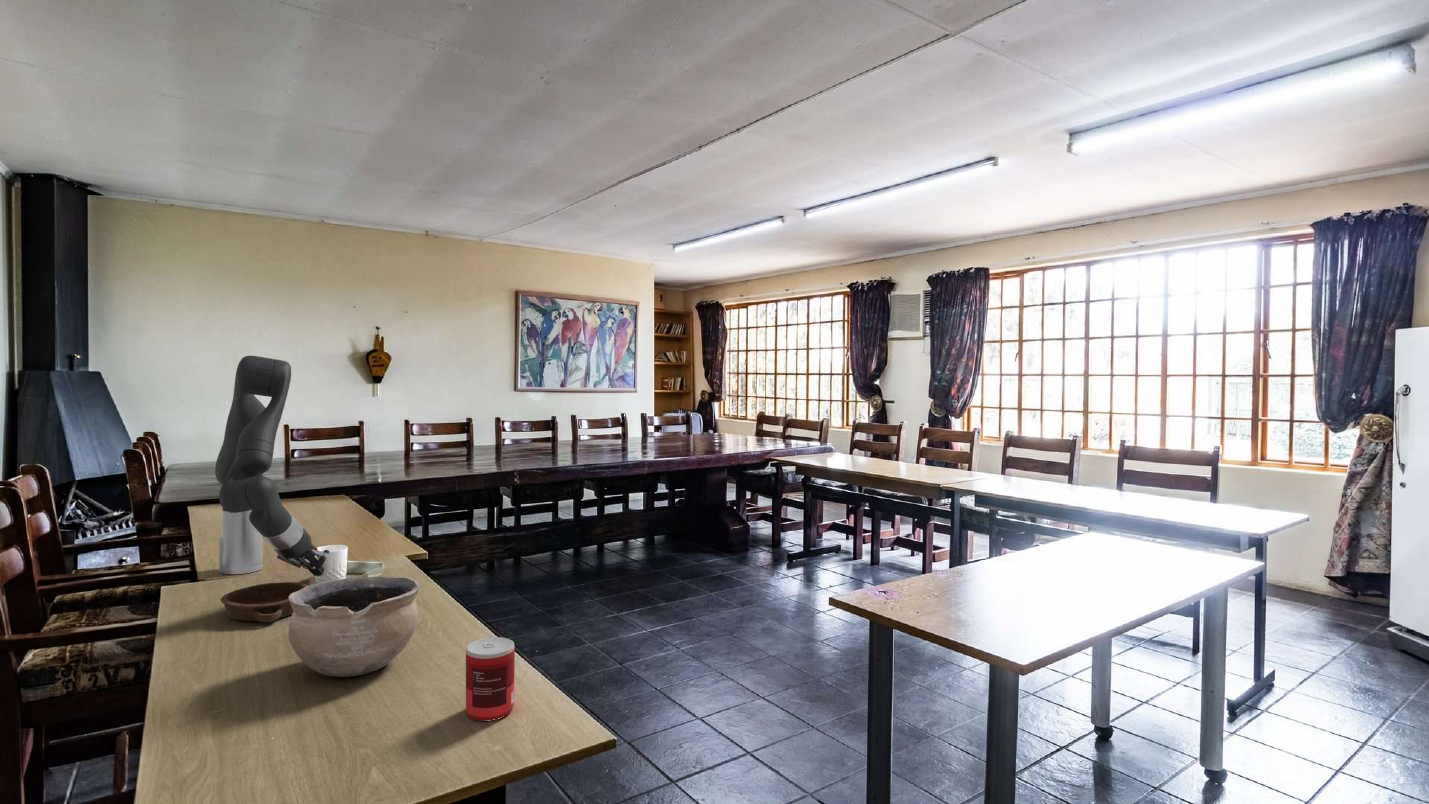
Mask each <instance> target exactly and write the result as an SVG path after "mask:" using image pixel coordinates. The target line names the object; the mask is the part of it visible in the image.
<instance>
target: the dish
mask: <svg viewBox="0 0 1429 804" xmlns="http://www.w3.org/2000/svg"><path fill="white" fill-rule="evenodd" d="M307 586H308V585H305V584H302V583H296V581H295V582H292V581H291V582H290V581H287V582H285V581H284V582H267V583H260V584H256V585H251V586H247V587H241V588H239V589H236V590H233V591H230V592H228V593H226V594H225V595H223V596H222V597H221V598H220V602H221V604H223V606H224V607H225V608H224V609H225V610H226V612H227V615H228V616H229V617H230V618H231V619H233V620H235V621H243V622H260V623H271V622H274V621H276V620H277V621H278V619H281V618H285V617H287V616H292V614H293V608H292V606H291V604H290V601H289V598H288V597H289V595H290V594H291V593H294V592H297V591H299V590H301V589H303V588H305V587H307Z"/></svg>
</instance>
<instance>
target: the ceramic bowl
mask: <svg viewBox="0 0 1429 804" xmlns="http://www.w3.org/2000/svg"><path fill="white" fill-rule="evenodd" d="M419 590H420V584H419V582H418V580H415V579H413V578H409V577H402V576H377V577H365V578H362V577H358V576H355V577H348V578H347V577H346V579H340V580H335V581H330V582H322V583H319V584H314V585H311V586H307V587H305V588H303V589H301V590H299V591H297V592H294V593H291V594H290V595H289V597H288V598H289V601H290V604H291V606H292V608H293V614H291V617H290V620H289V624H288V631H287V632H288V633H287V635H288V641H289V644H290V646H291V648H292V650H293V651H294V652H295V655H296V656H297V657H298V658H299V659H300V660H301V661H302V662H303V663H304V664H305V665H306V666H307V667H309V668H310V669H311V670H313V671H314V672H316V673H319V674H321V675H324V676H328V677H335V678H337V677H338V678H350V677H357V676H363V675H366V674H369V673H372V672H375V671H378V670H380V669H382V668H383V667H385V666H386V665H388V664H389V663H390V662H392V661H393V660H394V659H395V658H397V656H398V655H399V654H400V653H401V652H402V651H403V650H404V649H405V648H406V646H407V645H408V644H409V642H410V640H411V639H412V637H413V636H414V633H415V630H416V628H417V625H418V620H419V612H418V611H419V610H418V605H417V600H416V598H417V596H418V593H419Z"/></svg>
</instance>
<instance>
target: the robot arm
mask: <svg viewBox="0 0 1429 804" xmlns="http://www.w3.org/2000/svg"><path fill="white" fill-rule="evenodd" d="M291 379H292V367H291V364H290V363H289V362H288V361H286V360H281V359H278V358H277V359H276V358H271V357H264V356H257V355H245V356H243V357H242V358H241V359H240V360H239V362H238V365H237V368H236V371H235V377H234V387H233V397H232V401H231V405H230V409H229V413H228V416H227V420H226V424H225V429H224V435H223V441H222V444H221V448H220V450H219V453H218V456H217V458H216V461H215V467H214V474H215V479H216V481H217V482H218V483H219V484H220V485H221V486H220V490H219V494H218V496H219V497H218V498H219V503H220V505H221V506H220V507H221V509H222V514H221V515H222V516H221V517H222V536H221V537H219V538H218V539H219V540H218V556H219V557H218V559H219V560H218V563H219V567H218V568H219V573H223V574H226V575H241V574H244V575H245V574H248V573H249V574H250V573H255V572H257V571H261V570H262V569H263V546H264V545H263V539H264V541H265V542H266V543H267V544H268V546H269V547H271V548H272V550H274V551H275V553H276V554H277V556H276V559H277V560H280V561H283V562H285V563H287V564H289V565H291V566H293V567H296V568H298V569H301V568H303V569H305V570H308V571H309V572H310V574H312V576H313V575H314V576H321V575H322V573H323V571H324V568H323V567H322V565H323V563H324V562H325V560H326V558H327V556H328V554H329V551H328V550H324V552H323V551H318V549H317V548H318V547H317V546H315V545H314V544H313V543H312V537H311V535H310V534H309V533H308V532H307V530H306V529H305V528H304V526H303V525H302V524H301V523H300V522H299V521H298V520H297V519H296V518H295V517H294V516H293V515H291V513H290V512H289V511H288V510H287V508H285V506H284V505H283V503H282V500H281V498H280V494H279V491H278V488H277V485H276V483H275V481H274V480H273V479H272V478H270V477H268V476H264V473H266V472H268V471H269V470H270V469H271V467H272V463H273V458H274V457H273V456H274V451H275V443H276V438H277V433H278V428H279V425H280V422H281V419H282V416H283V413H284V410H285V404H286V401H287V397H288V393H289V390H290V386H291V385H290V384H291ZM257 396H261V397H262V396H263V397H270V398H271V399H270V401H269V402H268V405H267V406H266V407H265V405H264V404H263V403H262V401H260V400H259V399H258V398H257Z"/></svg>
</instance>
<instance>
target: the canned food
mask: <svg viewBox="0 0 1429 804" xmlns="http://www.w3.org/2000/svg"><path fill="white" fill-rule="evenodd" d="M515 648H516V647H515V642H514V641H513V640H511V639H509V638H506V637H502V636H501V637H500V636H497V637H496V636H492V637H490V636H489V637H484V638H483V637H482V638H479V639H476V640H474V641H471V642H469V643H468V644H467V645H466V647H465V649H466V650H465V712H466V715H467V716H469V717H470V718H469V717H468V718H469V719H471V720H473V719H474V720H473V721H476V720H478V721H477V722H482V721H485V720H486V721H487V720H493V719H498V718H501V717H503V716H506V715H507V714H509V713H510V712H511V711H512V712H513V709H514V705H515V661H516V660H515V657H516V655H515ZM512 712H511V713H512ZM511 713H510V714H511ZM510 714H509V715H510ZM507 716H508V715H507ZM507 716H506V717H507Z"/></svg>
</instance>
